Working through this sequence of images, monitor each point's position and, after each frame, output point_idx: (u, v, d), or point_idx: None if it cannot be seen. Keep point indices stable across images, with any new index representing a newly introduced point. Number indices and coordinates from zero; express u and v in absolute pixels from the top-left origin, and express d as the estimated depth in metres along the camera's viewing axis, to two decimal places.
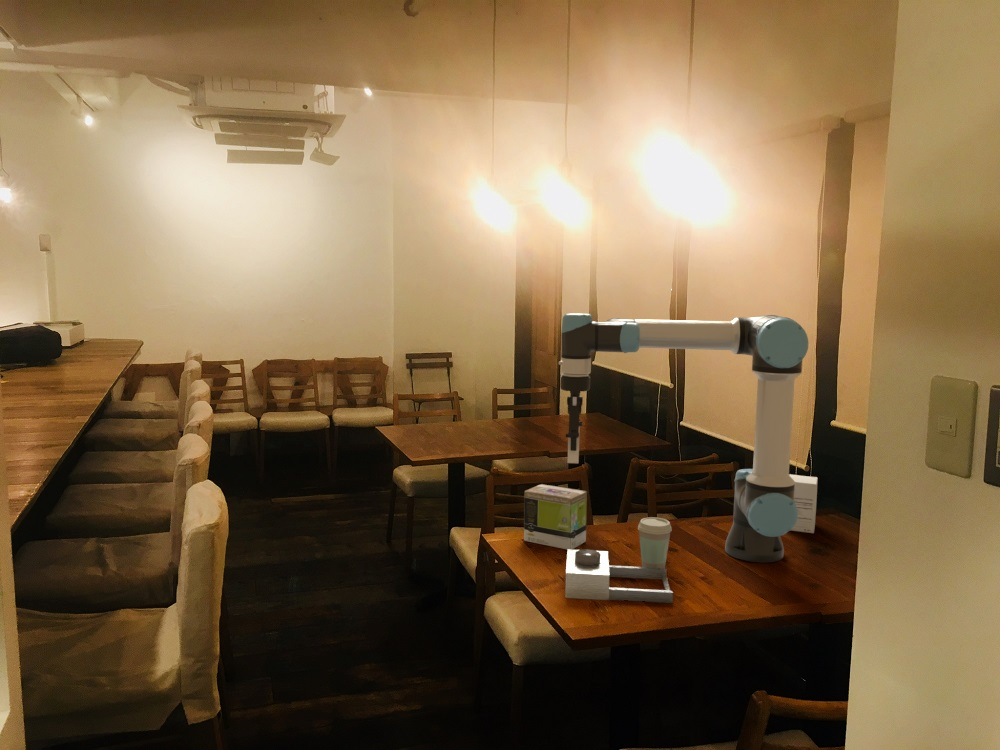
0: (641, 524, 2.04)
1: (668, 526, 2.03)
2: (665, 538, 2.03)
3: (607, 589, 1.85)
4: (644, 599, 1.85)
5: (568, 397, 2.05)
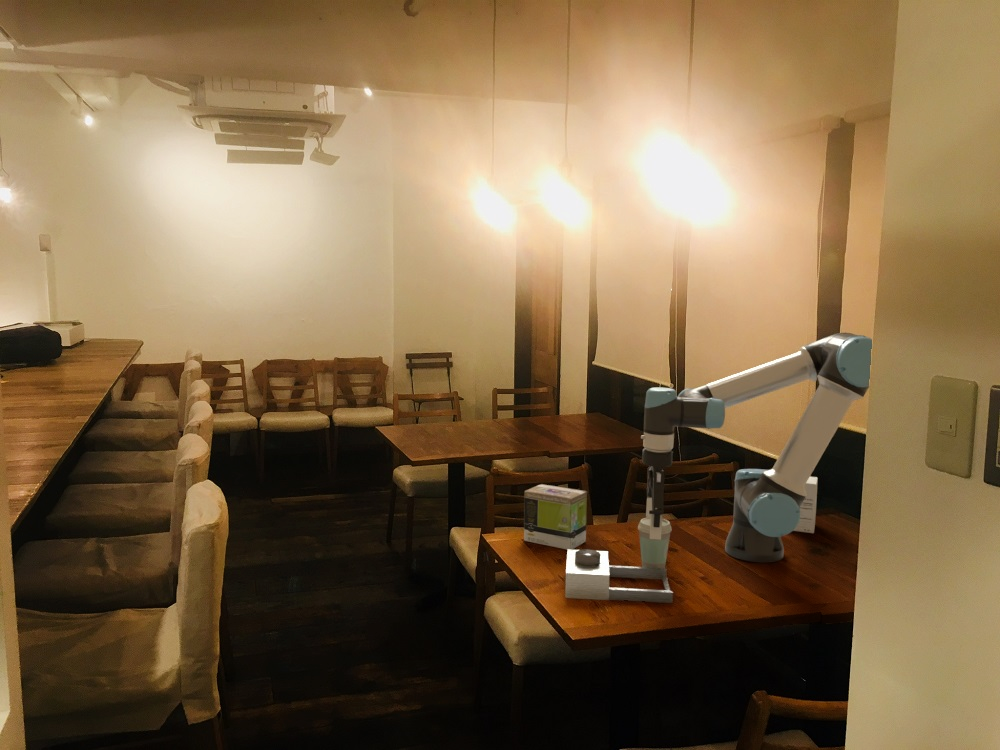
0: (641, 524, 2.04)
1: (668, 526, 2.03)
2: (665, 538, 2.03)
3: (607, 589, 1.85)
4: (644, 599, 1.85)
5: (649, 471, 2.05)
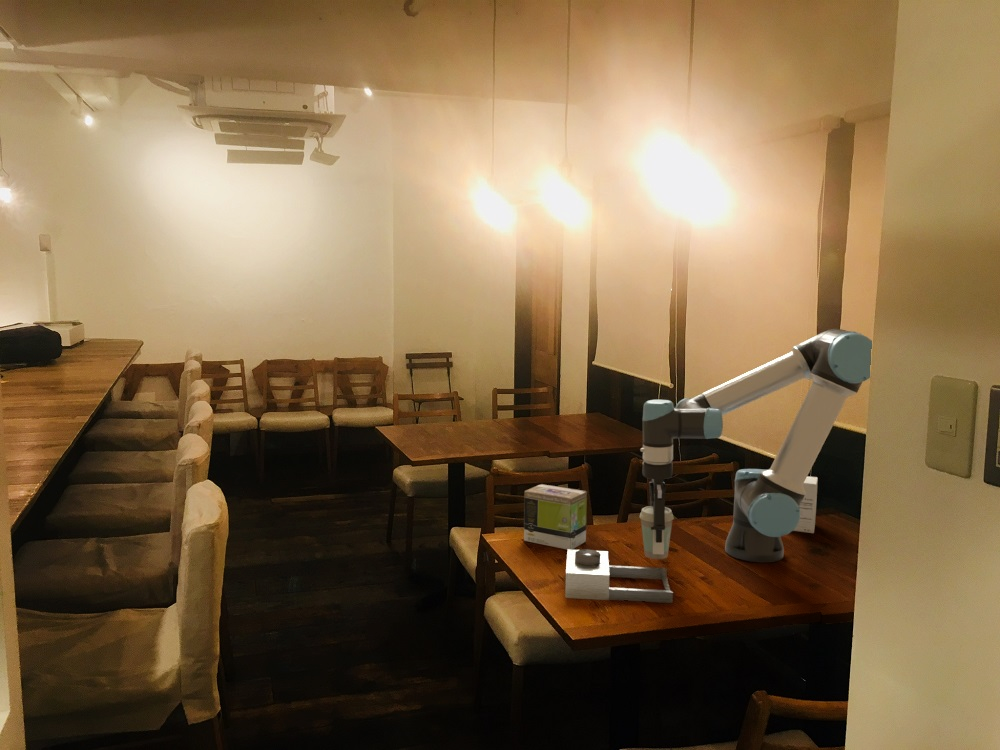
0: (643, 513, 2.04)
1: (670, 514, 2.03)
2: (667, 526, 2.02)
3: (607, 589, 1.85)
4: (644, 599, 1.85)
5: (650, 482, 2.05)
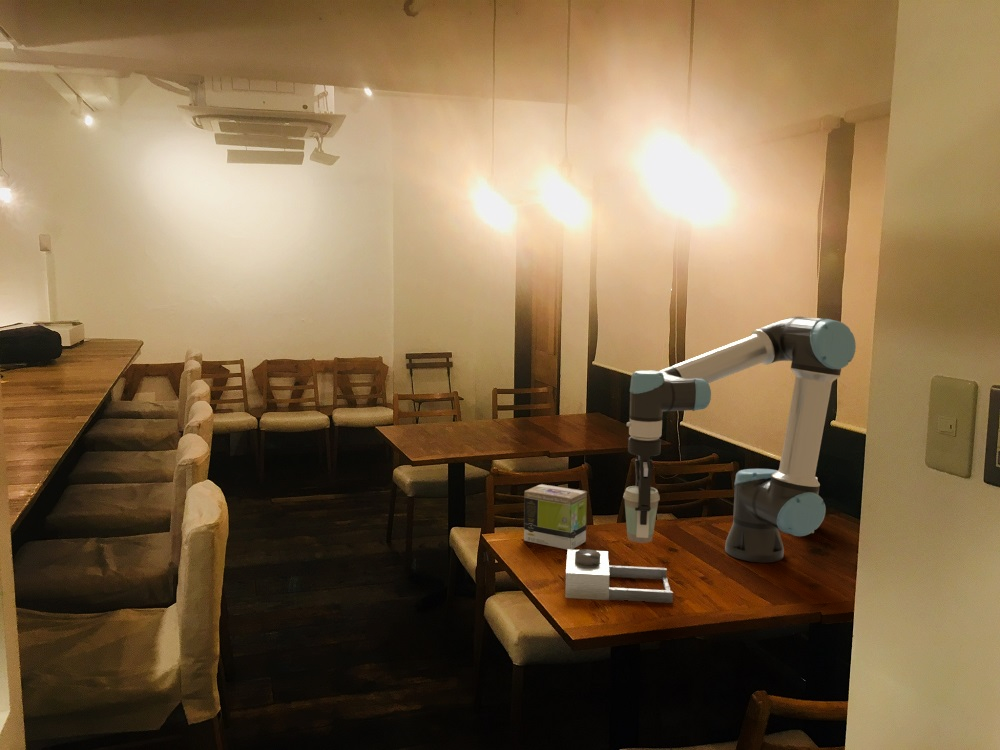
0: (627, 492, 1.89)
1: (656, 494, 1.87)
2: (652, 507, 1.87)
3: (607, 589, 1.85)
4: (644, 599, 1.85)
5: (636, 460, 1.90)
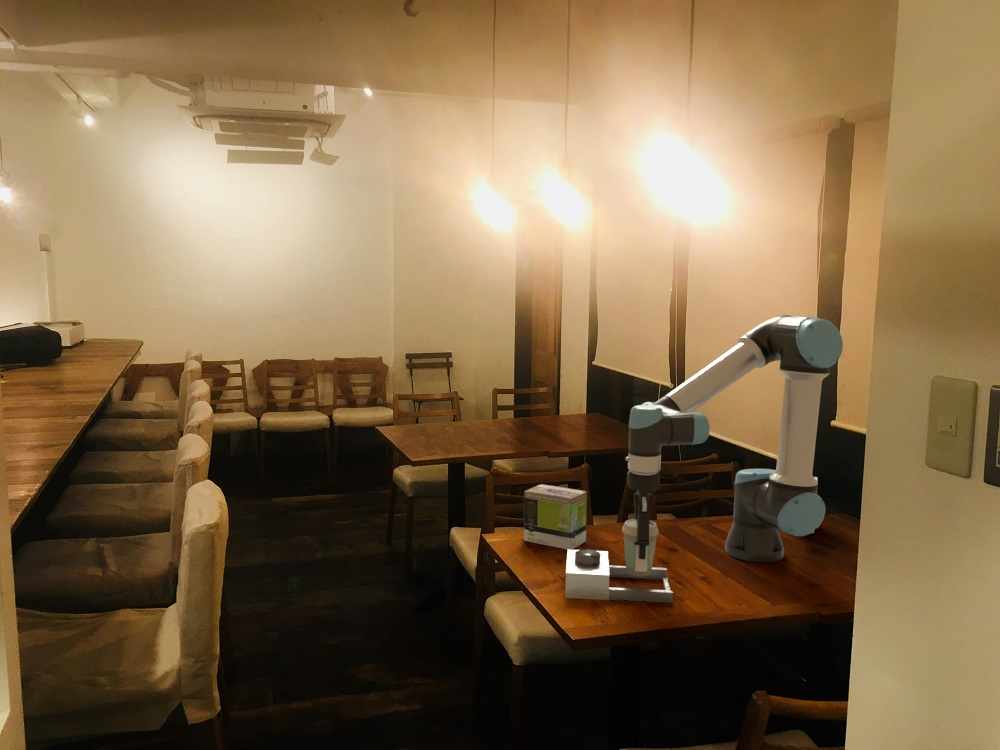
0: (625, 526, 1.90)
1: (654, 528, 1.88)
2: (651, 541, 1.88)
3: (607, 589, 1.85)
4: (644, 599, 1.85)
5: (635, 494, 1.91)
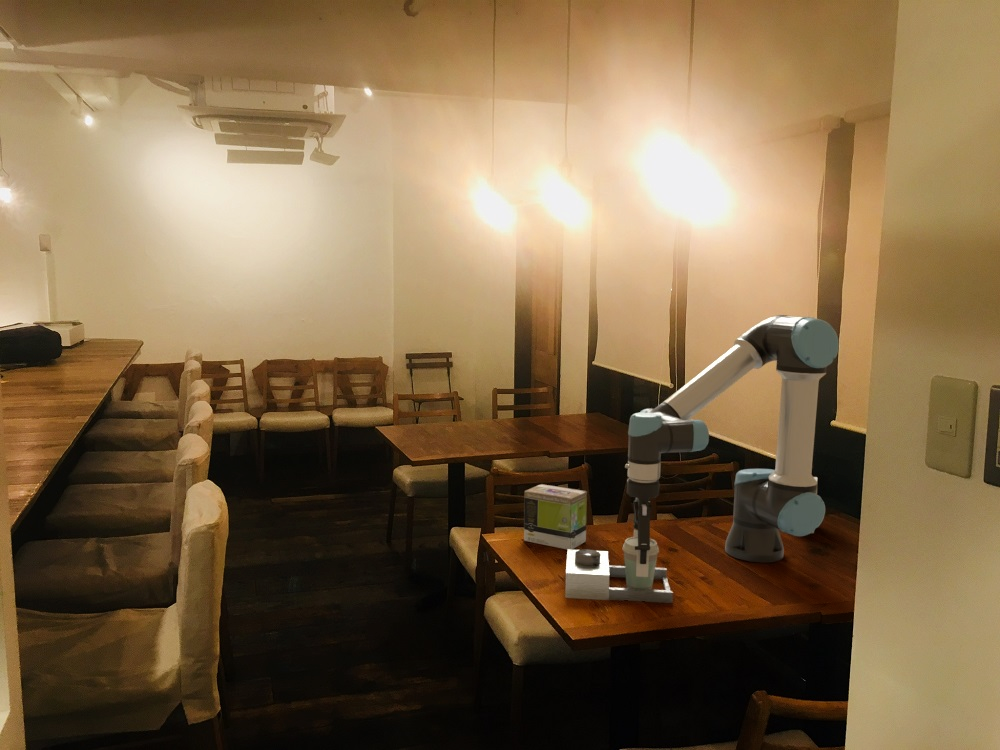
0: (626, 544, 1.89)
1: (655, 547, 1.88)
2: (652, 559, 1.87)
3: (607, 589, 1.85)
4: (644, 599, 1.85)
5: (635, 502, 1.91)
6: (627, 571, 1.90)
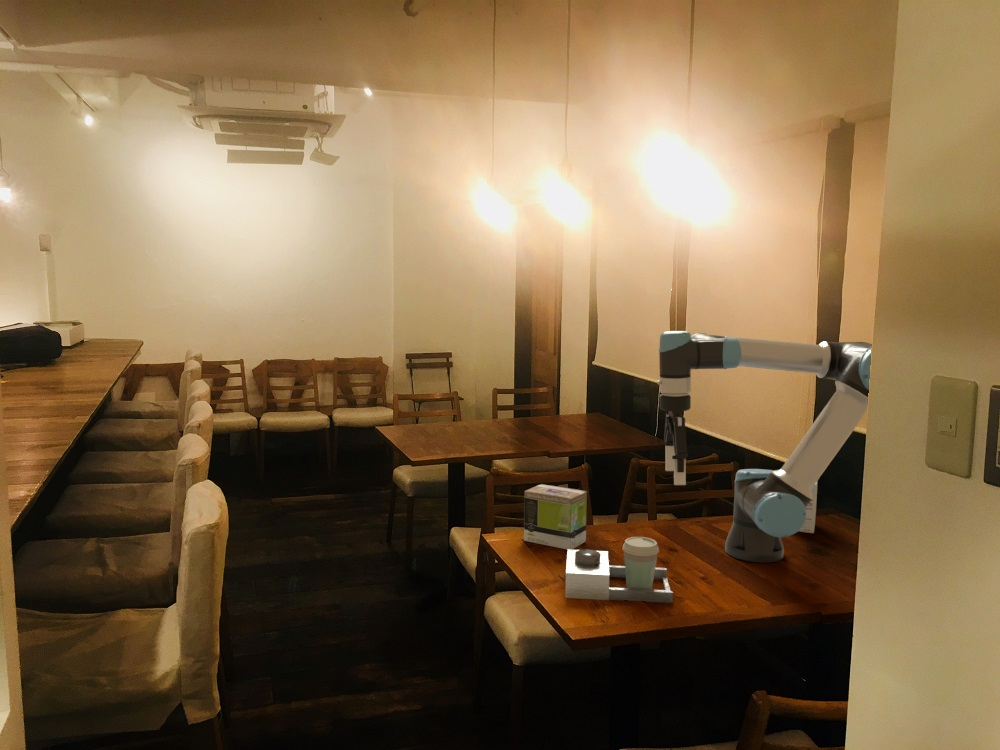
0: (626, 544, 1.89)
1: (655, 547, 1.88)
2: (652, 560, 1.87)
3: (607, 589, 1.85)
4: (644, 599, 1.85)
5: (667, 417, 2.00)
6: (627, 571, 1.90)
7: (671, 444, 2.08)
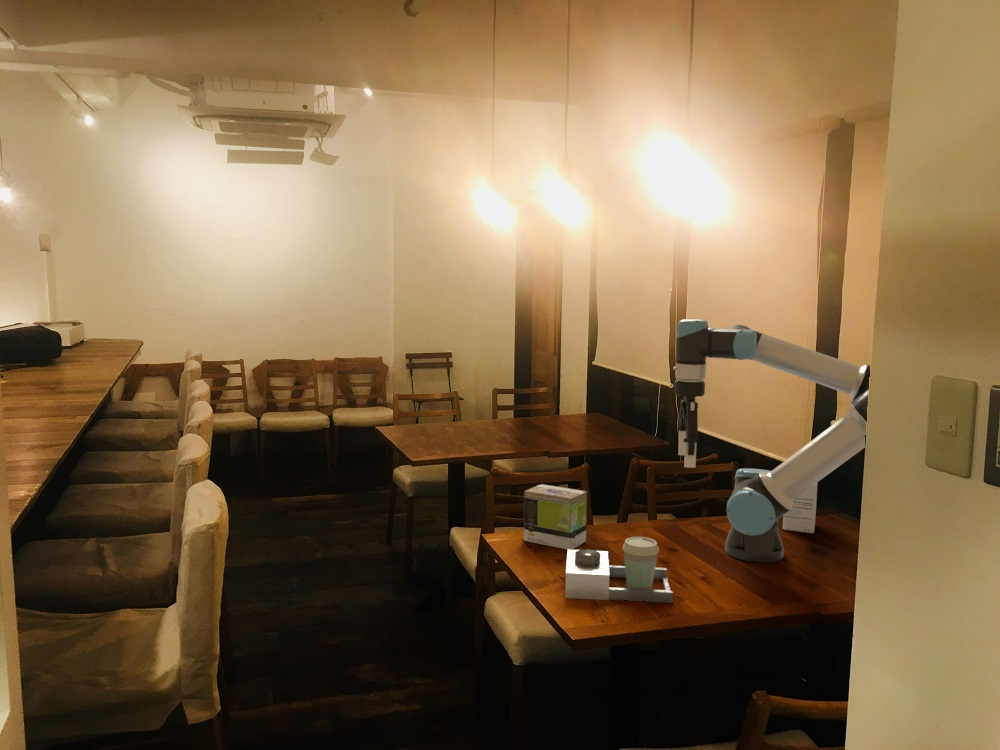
0: (626, 544, 1.89)
1: (655, 547, 1.88)
2: (652, 559, 1.87)
3: (607, 589, 1.85)
4: (644, 599, 1.85)
5: (682, 402, 2.08)
6: (627, 571, 1.90)
7: (685, 429, 2.15)
